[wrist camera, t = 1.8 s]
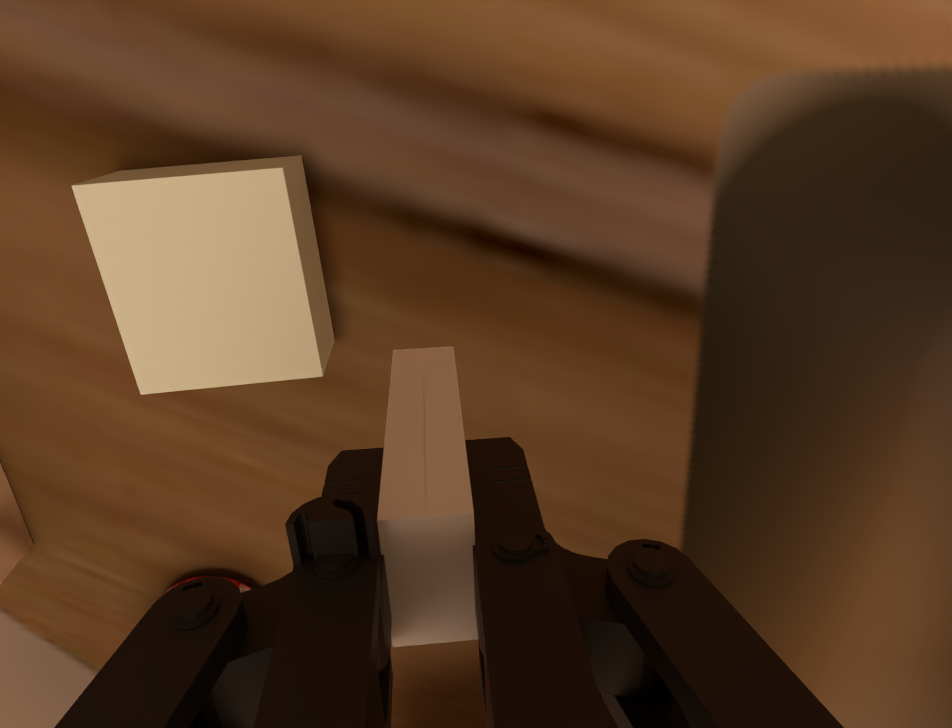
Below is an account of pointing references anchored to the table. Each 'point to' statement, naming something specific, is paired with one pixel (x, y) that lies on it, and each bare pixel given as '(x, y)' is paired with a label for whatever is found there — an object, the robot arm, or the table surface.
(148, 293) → the block
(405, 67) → the table surface
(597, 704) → the robot arm
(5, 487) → the board
